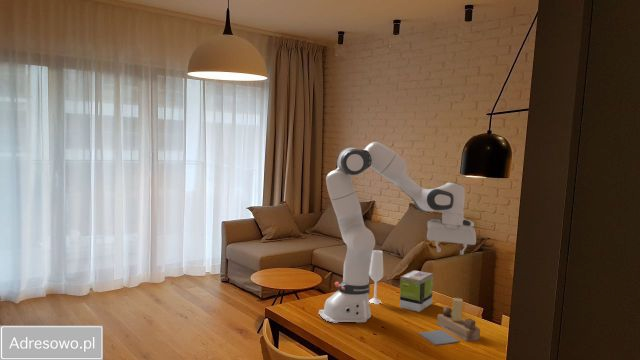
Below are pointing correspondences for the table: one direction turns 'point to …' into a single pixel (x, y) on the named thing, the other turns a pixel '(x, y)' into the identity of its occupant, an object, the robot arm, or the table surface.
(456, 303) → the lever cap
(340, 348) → the table surface
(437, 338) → the rubber mat
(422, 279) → the tea box
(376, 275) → the champagne flute
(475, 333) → the plane body
